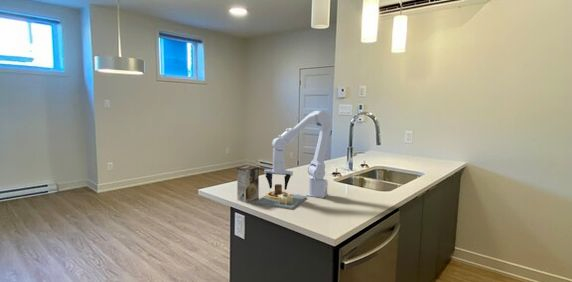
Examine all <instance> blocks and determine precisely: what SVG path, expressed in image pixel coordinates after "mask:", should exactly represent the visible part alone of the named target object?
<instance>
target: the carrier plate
mask: <svg viewBox="0 0 572 282" xmlns="http://www.w3.org/2000/svg"><path fill="white" fill-rule="evenodd" d="M274 191H275V190H272V191H268V192H266V195H263V197H260V198H258V199H256V200H255V201H254V204H255V203H256V204H255V205H261V204H262V206H267V205H269V206H268V207H273V206H274V208H279V207H280V209H285V210H294V209H295V208H296V207H298V205H300V204H301V203H302V202H303V201H305V200H306V199H307V196H306V195H300V194H295V193H293V194H292V193H290V192H288V191H286V190H285V191H284V190H282V192H286V193H283V194H281V195H277V197H273V196H270V193H272V192H274Z"/></svg>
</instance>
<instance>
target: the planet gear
mask: <svg viewBox="0 0 572 282" xmlns="http://www.w3.org/2000/svg"><path fill="white" fill-rule="evenodd" d="M273 191H274V192H272V193H270V196H273V197H277V195H281V194H283V193H286V192H287V191H285V192H282V191H283V185H282V184H278V183H277V184H274V190H273Z"/></svg>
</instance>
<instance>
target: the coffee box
mask: <svg viewBox="0 0 572 282" xmlns="http://www.w3.org/2000/svg"><path fill="white" fill-rule="evenodd" d="M259 168H260V167H259V166H255V165H252V164H251V165H245V166H241V167H237V168H236V171H237V174H236V176H237V177H236V179H237V181H236V182H237V190H236V191H237V192H236V194H237V195H236V196H237V201H241V202H243V203H248V201H249V202H251V201H254V199H255V200H258V199H260V198H259V197H260V196H259V194H260V193H259V191H260V187H259V185H260V184H259V183H260V182H259V180H260V178H259V176H260V173H259Z"/></svg>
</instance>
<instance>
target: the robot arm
mask: <svg viewBox="0 0 572 282" xmlns="http://www.w3.org/2000/svg"><path fill="white" fill-rule="evenodd" d="M330 119H331V116H330V115H329V113H328V112H327V111H325V110H313V111H311V112H309V114H307V116H305V117H304V118H303V119H302V120H300V122H299V123H297V124H296V125H295V126H294V127H289V128H288V127H287V128H286V129H285V131H284V132H283V133H282V134H278V137H275V138H274V139H272V142H271V147H272V148H273V149H272V169H264V170H263V174H264V175H265V178H266V180H267V183H268V187H269V189H272V188H273V175H279V176H281V175H282V176H283V177H284V190H285V191H286V190H287V189H288V184H289V181H290V178H292V177H291V176H293V175H294V171H293V170H292V171H291V170H285V149H286V148H287V145H289V144H290V143H291V142H292V141H293V140H295V139H296V138H297V137H298V134H299V132H301V131H303V130H304V129H305V128H307V127H308V126H310V125H313V124H314V125H317V127H318V129H319V133H318V140H317V144H316V148H315V152H314V156H313V159H312V160H311V162H310V164H309V165H308V167H307V173H308V175H309V176H308V193H306V194H305V196H306V197H312V198H313V197H315V198H322V199H324V198H325V197H326V196H327V195H328V184H329V183H328V180H327V179H326V178H324V177H325V175H326V170H325V169H326V164H325V157H326V153H327V149H328V144H329V139H330V135H331V131H332V125H331V121H330Z"/></svg>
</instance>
